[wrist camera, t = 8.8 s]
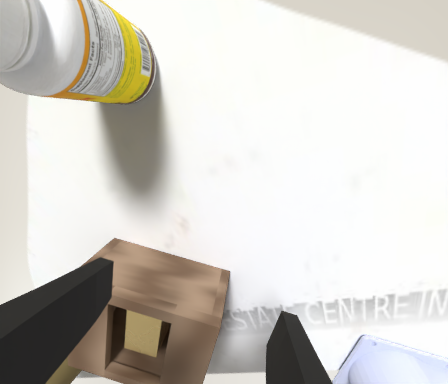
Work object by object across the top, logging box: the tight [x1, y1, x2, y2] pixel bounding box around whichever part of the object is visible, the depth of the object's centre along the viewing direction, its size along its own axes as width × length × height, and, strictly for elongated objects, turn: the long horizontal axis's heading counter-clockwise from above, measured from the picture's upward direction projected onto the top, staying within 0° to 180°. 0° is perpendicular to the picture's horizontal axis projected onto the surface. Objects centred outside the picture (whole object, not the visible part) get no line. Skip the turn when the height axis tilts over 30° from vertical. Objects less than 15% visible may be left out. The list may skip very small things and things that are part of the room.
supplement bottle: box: [0, 0, 156, 104], centre depth 11 cm, size 6×6×10 cm
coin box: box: [68, 238, 230, 384], centre depth 20 cm, size 12×10×6 cm
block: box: [124, 310, 170, 357], centre depth 20 cm, size 3×5×5 cm, turn 168°
